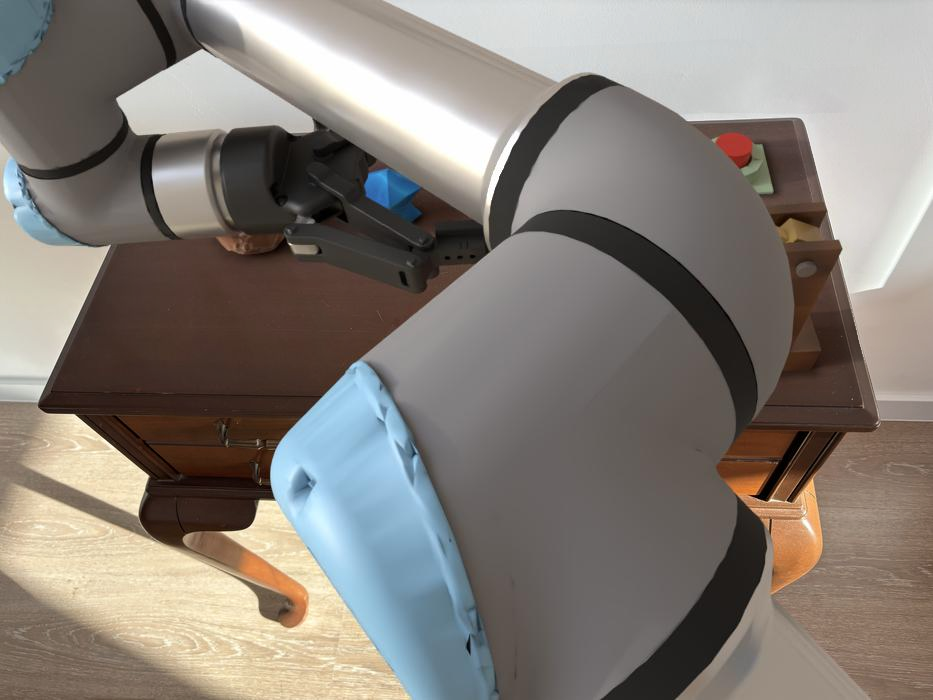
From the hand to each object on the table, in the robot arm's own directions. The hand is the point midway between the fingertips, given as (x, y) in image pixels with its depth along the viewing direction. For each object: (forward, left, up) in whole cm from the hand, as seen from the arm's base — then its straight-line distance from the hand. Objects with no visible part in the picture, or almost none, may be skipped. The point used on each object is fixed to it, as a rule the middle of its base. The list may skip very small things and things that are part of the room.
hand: (534, 162), depth 48 cm
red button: (+10, -33, -23) cm, 41 cm away
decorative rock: (+35, +17, -26) cm, 47 cm away
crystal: (+27, +4, -26) cm, 38 cm away
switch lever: (-7, -12, -9) cm, 17 cm away
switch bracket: (-10, -18, -26) cm, 33 cm away
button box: (+10, -33, -26) cm, 43 cm away
